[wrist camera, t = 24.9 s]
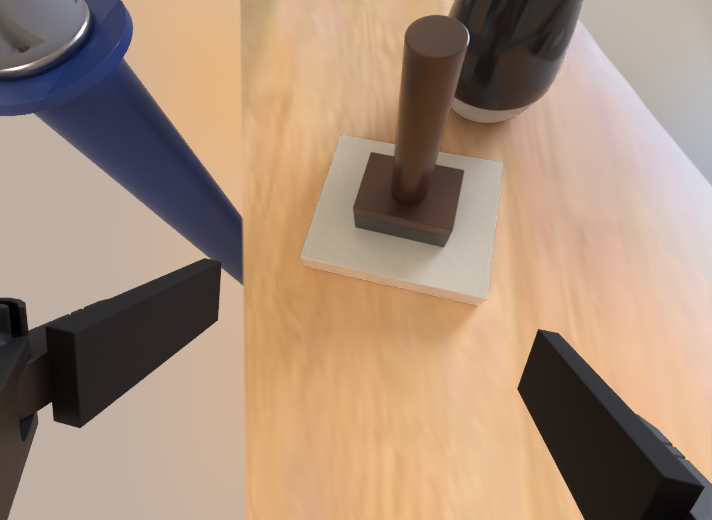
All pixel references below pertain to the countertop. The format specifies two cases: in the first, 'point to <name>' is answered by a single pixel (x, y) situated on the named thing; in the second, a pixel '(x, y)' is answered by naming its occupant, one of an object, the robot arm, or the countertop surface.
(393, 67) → the countertop surface
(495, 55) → the black pear
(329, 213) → the tile
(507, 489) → the countertop surface
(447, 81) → the brown peg on base
